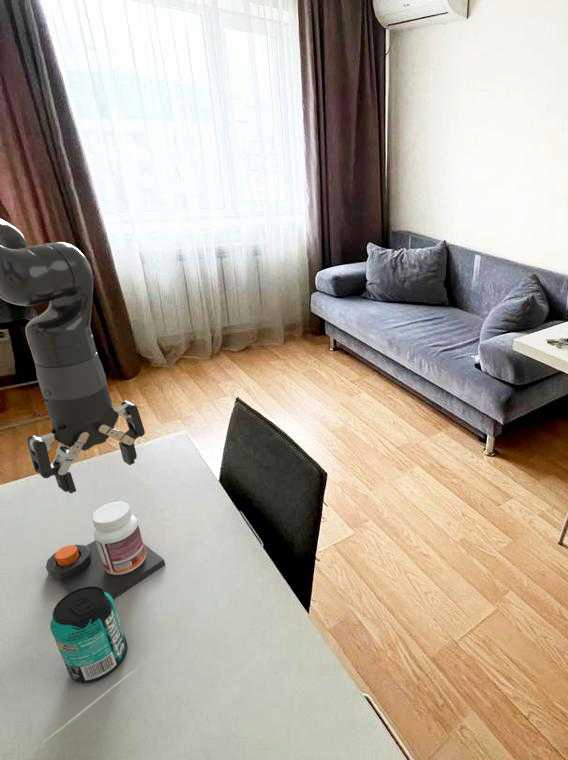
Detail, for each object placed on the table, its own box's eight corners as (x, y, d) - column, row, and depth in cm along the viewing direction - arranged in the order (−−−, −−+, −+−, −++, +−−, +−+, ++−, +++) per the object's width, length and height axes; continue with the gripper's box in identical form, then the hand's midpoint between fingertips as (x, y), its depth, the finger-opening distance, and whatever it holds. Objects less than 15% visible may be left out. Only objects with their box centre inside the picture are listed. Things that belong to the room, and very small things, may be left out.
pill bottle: (154, 552, 88) (142, 502, 83) (128, 579, 82) (112, 528, 77) (124, 545, 88) (109, 496, 84) (95, 572, 83) (78, 521, 78)
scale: (44, 574, 84) (39, 561, 82) (121, 530, 94) (117, 518, 92) (87, 617, 77) (83, 603, 76) (165, 565, 87) (162, 552, 86)
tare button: (54, 561, 83) (51, 553, 82) (74, 549, 85) (71, 542, 85) (62, 569, 82) (60, 561, 81) (82, 557, 84) (80, 550, 83)
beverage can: (108, 631, 75) (89, 574, 70) (139, 651, 73) (122, 594, 68) (59, 672, 69) (34, 613, 64) (90, 695, 67) (67, 636, 62)
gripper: (113, 361, 78) (134, 446, 85) (2, 396, 67) (36, 491, 74) (140, 375, 74) (159, 462, 81) (27, 414, 63) (60, 511, 70)
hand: (101, 476), depth 77 cm, fingers open, 8 cm apart
